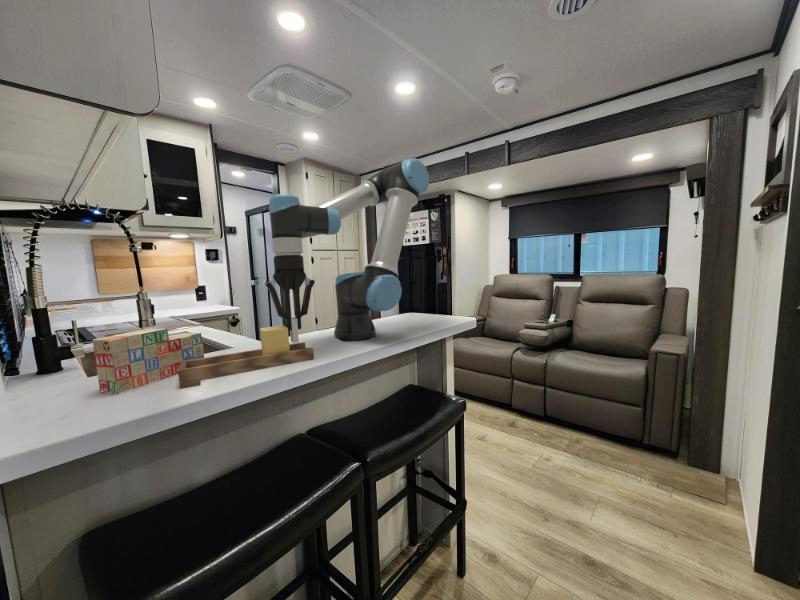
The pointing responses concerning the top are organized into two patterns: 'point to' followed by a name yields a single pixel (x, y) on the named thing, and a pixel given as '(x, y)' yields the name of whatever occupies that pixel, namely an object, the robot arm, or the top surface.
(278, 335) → the block
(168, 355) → the stack of blocks
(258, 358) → the chute
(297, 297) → the robot arm
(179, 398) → the top surface
